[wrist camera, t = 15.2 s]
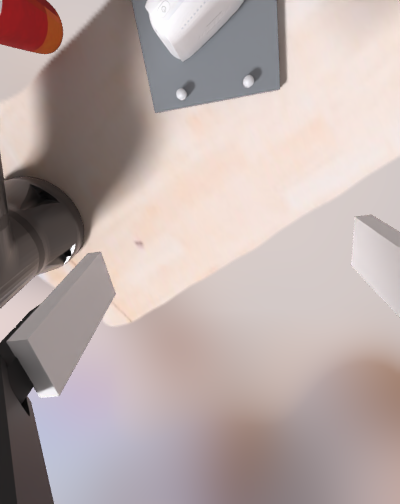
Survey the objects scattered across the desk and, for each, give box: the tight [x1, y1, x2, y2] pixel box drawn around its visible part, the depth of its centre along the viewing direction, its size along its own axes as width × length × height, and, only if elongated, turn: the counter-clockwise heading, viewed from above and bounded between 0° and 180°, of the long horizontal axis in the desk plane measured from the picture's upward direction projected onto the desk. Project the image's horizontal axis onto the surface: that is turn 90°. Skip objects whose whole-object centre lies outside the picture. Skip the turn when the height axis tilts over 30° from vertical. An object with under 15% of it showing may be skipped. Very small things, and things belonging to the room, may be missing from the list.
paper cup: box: [0, 0, 63, 54], centre depth 28 cm, size 8×8×14 cm
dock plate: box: [132, 0, 280, 113], centre depth 32 cm, size 16×17×3 cm
